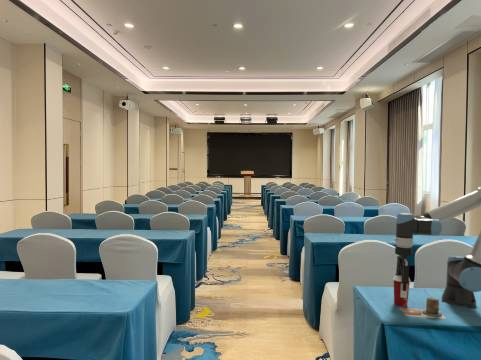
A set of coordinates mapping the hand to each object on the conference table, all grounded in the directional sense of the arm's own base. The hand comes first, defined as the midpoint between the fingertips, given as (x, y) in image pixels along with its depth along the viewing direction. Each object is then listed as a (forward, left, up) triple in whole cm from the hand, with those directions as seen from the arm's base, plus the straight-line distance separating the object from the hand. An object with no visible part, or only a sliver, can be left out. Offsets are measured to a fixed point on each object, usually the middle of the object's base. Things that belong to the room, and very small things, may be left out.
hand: (401, 294), depth 208 cm
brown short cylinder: (-11, +11, -4) cm, 16 cm away
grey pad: (-11, +11, -5) cm, 16 cm away
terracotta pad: (-2, +11, -5) cm, 12 cm away
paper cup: (0, 0, -6) cm, 6 cm away
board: (-7, +11, -6) cm, 14 cm away
